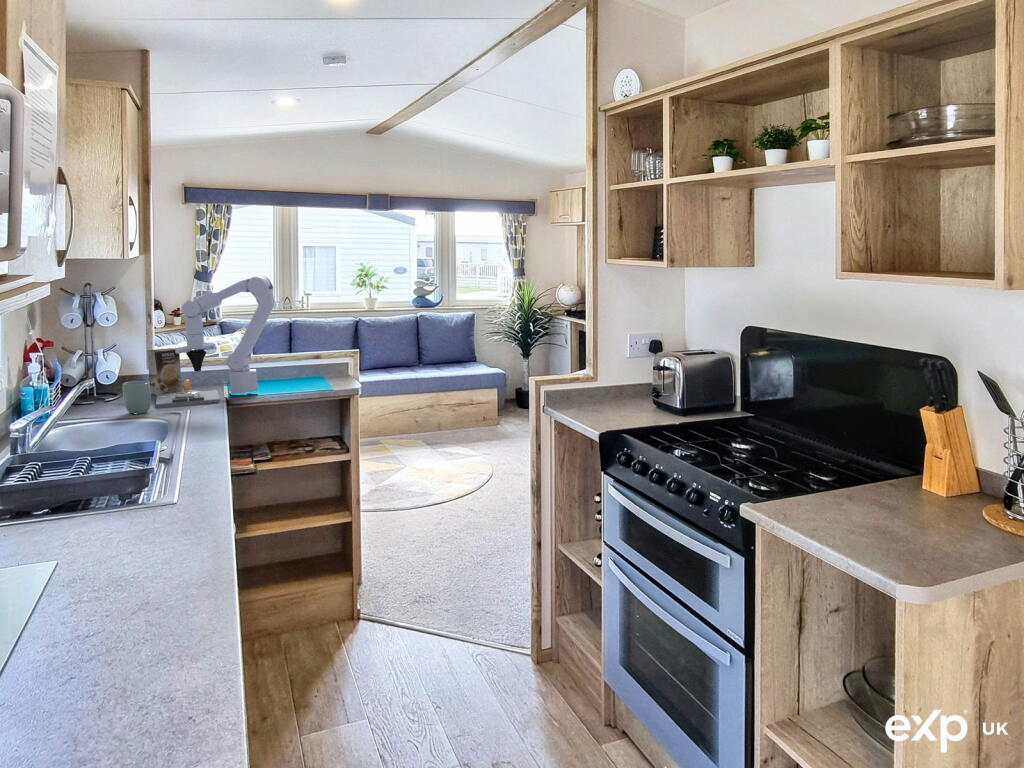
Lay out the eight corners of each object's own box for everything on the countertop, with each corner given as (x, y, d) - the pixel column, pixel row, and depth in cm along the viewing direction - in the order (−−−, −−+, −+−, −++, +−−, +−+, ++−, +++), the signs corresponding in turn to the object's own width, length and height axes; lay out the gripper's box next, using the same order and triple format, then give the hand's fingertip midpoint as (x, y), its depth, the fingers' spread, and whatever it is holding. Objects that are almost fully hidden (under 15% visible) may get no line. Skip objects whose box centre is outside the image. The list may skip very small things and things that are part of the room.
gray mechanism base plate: (217, 393, 271) (216, 385, 271) (220, 402, 255) (219, 394, 255) (157, 397, 263) (156, 389, 263) (156, 407, 247) (155, 399, 247)
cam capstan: (200, 397, 257) (199, 384, 256) (175, 399, 254) (174, 386, 253) (199, 391, 268) (198, 378, 267) (175, 392, 264) (174, 380, 264)
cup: (144, 415, 236) (141, 385, 234) (120, 415, 236) (117, 385, 234) (156, 410, 243) (153, 380, 242) (133, 410, 244) (130, 380, 242)
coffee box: (159, 395, 267) (155, 351, 264) (150, 393, 271) (145, 350, 268) (183, 391, 274) (179, 348, 271) (173, 389, 278) (170, 347, 275)
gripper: (206, 331, 273) (209, 367, 275) (169, 334, 261) (172, 372, 264) (217, 332, 269) (220, 369, 271) (180, 336, 257) (183, 374, 260)
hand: (197, 371), depth 267 cm, fingers closed
